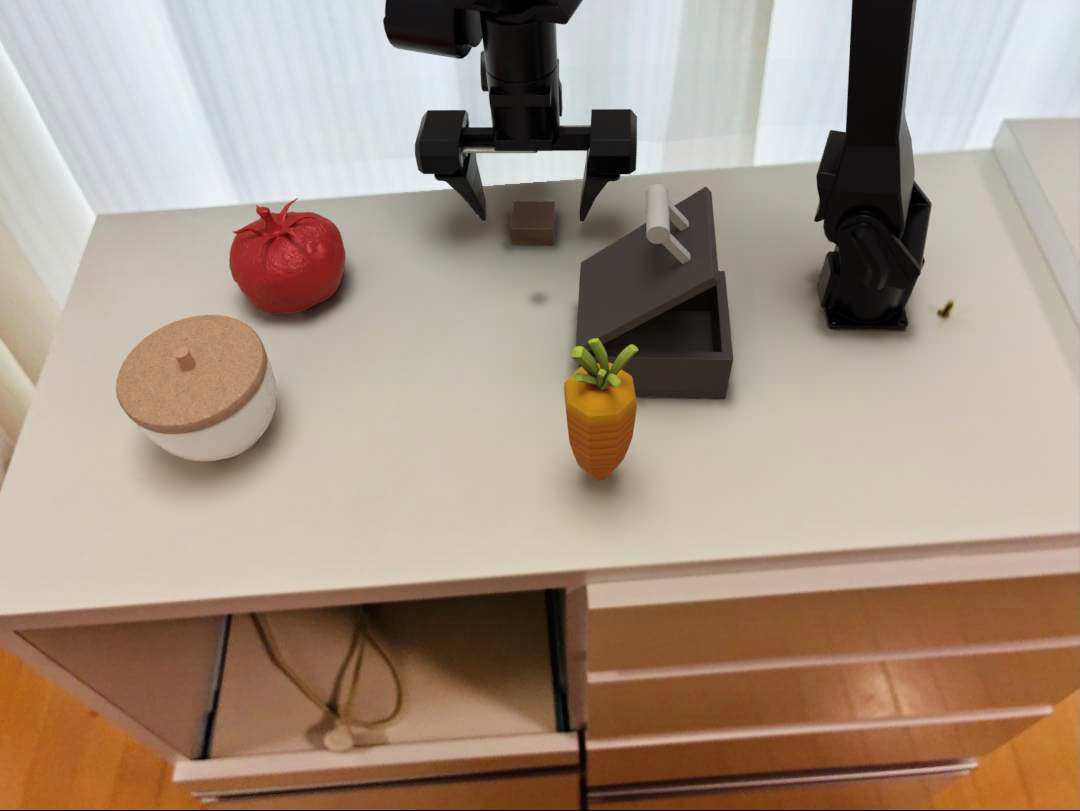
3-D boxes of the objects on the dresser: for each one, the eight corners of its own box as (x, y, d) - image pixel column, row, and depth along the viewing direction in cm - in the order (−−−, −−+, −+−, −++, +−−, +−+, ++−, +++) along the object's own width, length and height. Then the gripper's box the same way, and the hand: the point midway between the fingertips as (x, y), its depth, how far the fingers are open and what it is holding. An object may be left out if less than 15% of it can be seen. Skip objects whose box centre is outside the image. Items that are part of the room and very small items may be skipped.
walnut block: (555, 217, 80) (555, 200, 78) (553, 245, 77) (552, 229, 76) (514, 217, 80) (513, 200, 79) (511, 245, 78) (509, 228, 76)
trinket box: (294, 367, 70) (258, 288, 62) (293, 472, 63) (253, 397, 56) (166, 388, 69) (115, 310, 62) (152, 496, 63) (92, 424, 55)
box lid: (712, 192, 61) (672, 148, 59) (720, 283, 56) (676, 239, 53) (586, 267, 68) (546, 231, 66) (581, 355, 63) (537, 320, 60)
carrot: (639, 458, 63) (651, 324, 51) (622, 513, 60) (629, 384, 48) (577, 443, 64) (573, 307, 52) (557, 496, 61) (548, 365, 49)
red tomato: (359, 314, 73) (333, 233, 66) (246, 337, 72) (207, 258, 65) (348, 242, 79) (323, 160, 72) (244, 263, 78) (207, 182, 71)
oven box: (718, 311, 71) (725, 270, 67) (725, 399, 66) (733, 359, 62) (584, 309, 72) (583, 269, 68) (579, 395, 67) (578, 357, 63)
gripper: (640, 9, 69) (633, 165, 82) (421, 13, 71) (447, 165, 83) (640, 84, 63) (632, 241, 75) (398, 86, 64) (430, 239, 77)
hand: (533, 218), depth 78 cm, fingers open, 9 cm apart
